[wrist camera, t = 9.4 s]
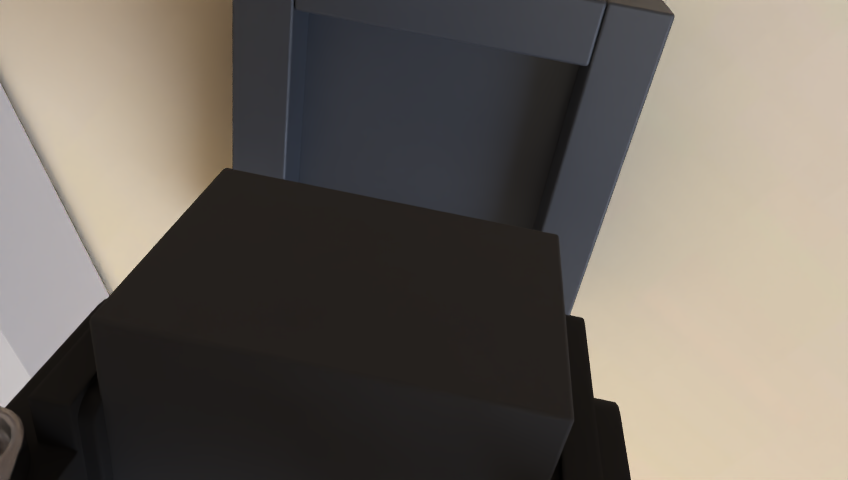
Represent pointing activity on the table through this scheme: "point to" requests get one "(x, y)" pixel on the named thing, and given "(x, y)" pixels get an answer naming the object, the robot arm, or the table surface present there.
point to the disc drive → (36, 262)
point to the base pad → (451, 104)
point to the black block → (335, 343)
